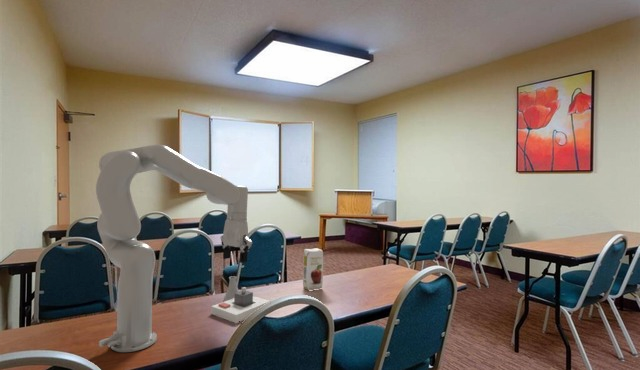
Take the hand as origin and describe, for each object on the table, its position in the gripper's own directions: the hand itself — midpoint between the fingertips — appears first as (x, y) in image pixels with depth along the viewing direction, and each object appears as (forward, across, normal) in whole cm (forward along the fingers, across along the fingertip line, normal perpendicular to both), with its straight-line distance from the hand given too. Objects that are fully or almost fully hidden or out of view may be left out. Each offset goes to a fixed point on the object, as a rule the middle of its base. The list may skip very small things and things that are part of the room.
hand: (234, 260), depth 133 cm
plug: (+19, +2, +3) cm, 19 cm away
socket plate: (+20, +2, +2) cm, 20 cm away
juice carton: (+19, +8, +42) cm, 47 cm away
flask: (+20, -10, +8) cm, 24 cm away
